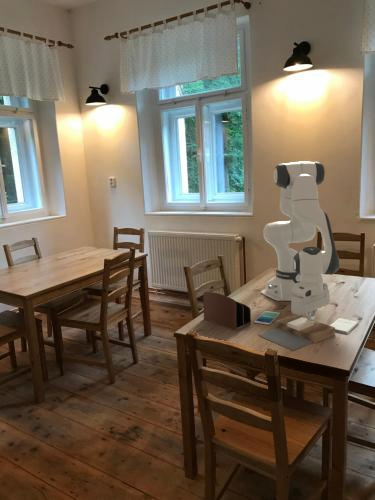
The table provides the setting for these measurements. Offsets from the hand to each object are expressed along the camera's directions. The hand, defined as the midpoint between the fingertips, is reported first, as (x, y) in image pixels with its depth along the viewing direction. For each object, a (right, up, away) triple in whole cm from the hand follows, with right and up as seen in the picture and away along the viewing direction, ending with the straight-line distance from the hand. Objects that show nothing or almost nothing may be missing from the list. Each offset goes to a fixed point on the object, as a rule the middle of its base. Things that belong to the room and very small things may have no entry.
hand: (311, 319), depth 167 cm
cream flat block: (-5, -2, -3) cm, 6 cm away
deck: (-3, -4, -1) cm, 5 cm away
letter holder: (-33, -3, +14) cm, 36 cm away
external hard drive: (+14, -4, +1) cm, 14 cm away
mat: (-12, -6, -7) cm, 16 cm away
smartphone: (-15, -2, +15) cm, 21 cm away
